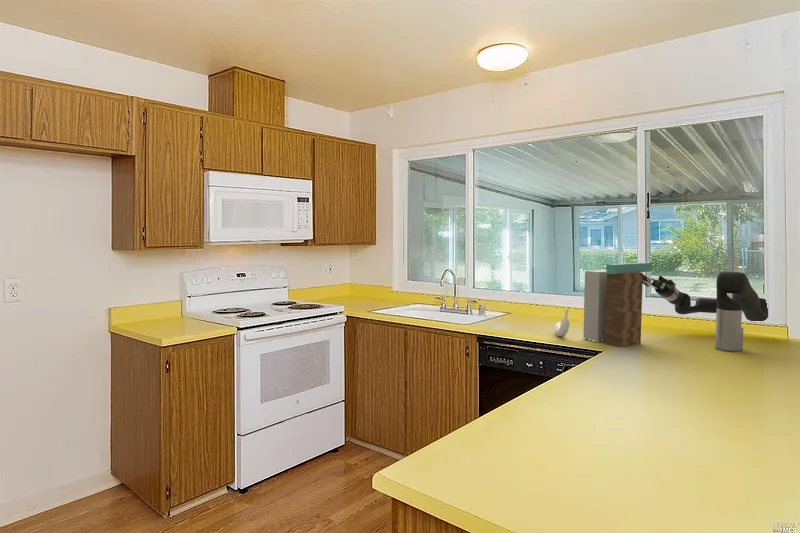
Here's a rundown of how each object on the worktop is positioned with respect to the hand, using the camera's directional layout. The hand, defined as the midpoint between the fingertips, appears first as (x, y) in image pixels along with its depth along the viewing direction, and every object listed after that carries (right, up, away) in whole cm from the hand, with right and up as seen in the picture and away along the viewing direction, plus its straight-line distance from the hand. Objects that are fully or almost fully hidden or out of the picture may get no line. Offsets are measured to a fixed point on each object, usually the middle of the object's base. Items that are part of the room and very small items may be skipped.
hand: (650, 276), depth 243 cm
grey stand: (-22, -29, +4) cm, 37 cm away
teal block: (-13, +2, -7) cm, 15 cm away
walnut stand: (-16, -30, -7) cm, 35 cm away
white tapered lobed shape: (-38, -29, +10) cm, 49 cm away
